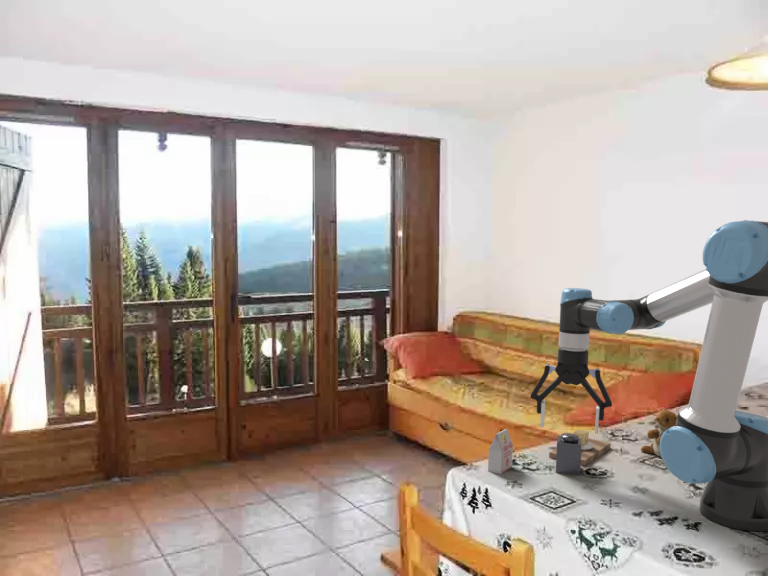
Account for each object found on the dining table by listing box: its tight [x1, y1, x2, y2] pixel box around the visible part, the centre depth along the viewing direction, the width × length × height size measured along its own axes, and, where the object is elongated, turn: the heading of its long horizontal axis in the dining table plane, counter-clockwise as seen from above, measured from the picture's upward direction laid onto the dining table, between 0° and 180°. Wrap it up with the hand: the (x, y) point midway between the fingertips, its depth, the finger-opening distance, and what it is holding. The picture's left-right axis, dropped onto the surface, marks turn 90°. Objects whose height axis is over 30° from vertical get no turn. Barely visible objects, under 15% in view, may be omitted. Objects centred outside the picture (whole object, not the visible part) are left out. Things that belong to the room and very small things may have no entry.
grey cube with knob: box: [555, 432, 582, 476], centre depth 170 cm, size 6×6×9 cm
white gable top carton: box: [487, 428, 514, 475], centre depth 170 cm, size 4×7×10 cm, turn 145°
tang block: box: [548, 429, 612, 467], centre depth 184 cm, size 20×10×6 cm, turn 142°
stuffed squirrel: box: [640, 408, 678, 458], centre depth 183 cm, size 10×14×13 cm
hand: (568, 429), depth 170 cm, fingers open, 13 cm apart
